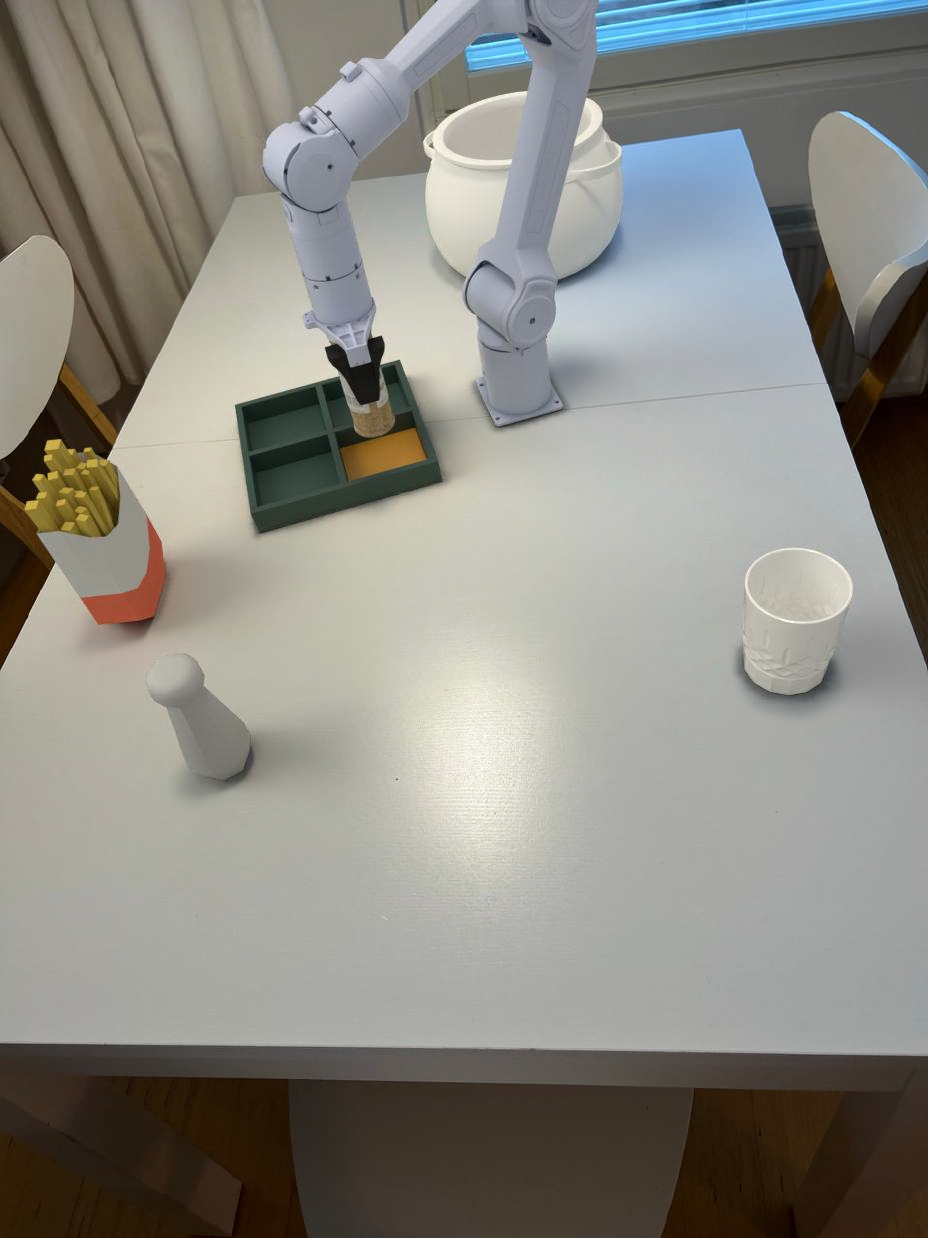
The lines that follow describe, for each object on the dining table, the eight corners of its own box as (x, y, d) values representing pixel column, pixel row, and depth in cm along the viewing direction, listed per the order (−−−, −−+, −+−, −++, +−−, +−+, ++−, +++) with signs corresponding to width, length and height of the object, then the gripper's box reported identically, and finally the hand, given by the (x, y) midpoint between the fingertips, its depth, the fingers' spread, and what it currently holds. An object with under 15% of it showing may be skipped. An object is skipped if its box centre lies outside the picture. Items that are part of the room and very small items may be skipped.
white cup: (837, 636, 80) (857, 554, 73) (829, 710, 76) (849, 631, 68) (743, 621, 83) (752, 541, 75) (729, 692, 78) (737, 614, 71)
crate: (242, 423, 114) (234, 404, 111) (404, 379, 115) (399, 358, 113) (259, 533, 100) (250, 513, 98) (442, 481, 101) (438, 460, 99)
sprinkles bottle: (403, 426, 100) (376, 313, 89) (367, 445, 98) (335, 333, 88) (382, 406, 102) (353, 295, 92) (346, 425, 101) (313, 314, 91)
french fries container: (174, 557, 100) (100, 421, 86) (152, 636, 92) (68, 500, 79) (133, 562, 100) (53, 427, 87) (108, 641, 93) (17, 506, 79)
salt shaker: (197, 737, 84) (137, 645, 74) (260, 727, 83) (208, 634, 73) (190, 794, 80) (126, 705, 70) (256, 784, 79) (201, 693, 70)
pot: (392, 276, 131) (365, 157, 119) (495, 189, 144) (481, 73, 132) (568, 317, 118) (559, 188, 106) (665, 218, 131) (667, 92, 118)
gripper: (280, 241, 91) (317, 360, 101) (299, 315, 81) (338, 439, 92) (350, 222, 91) (380, 343, 102) (378, 294, 82) (408, 419, 92)
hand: (365, 387), depth 97 cm, fingers closed on sprinkles bottle, 4 cm apart
